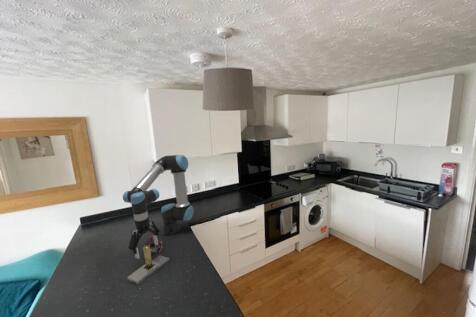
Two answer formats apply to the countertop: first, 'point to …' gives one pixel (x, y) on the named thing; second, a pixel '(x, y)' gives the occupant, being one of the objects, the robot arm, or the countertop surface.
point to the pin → (148, 257)
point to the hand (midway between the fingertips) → (147, 250)
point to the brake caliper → (153, 247)
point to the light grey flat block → (141, 273)
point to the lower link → (159, 261)
